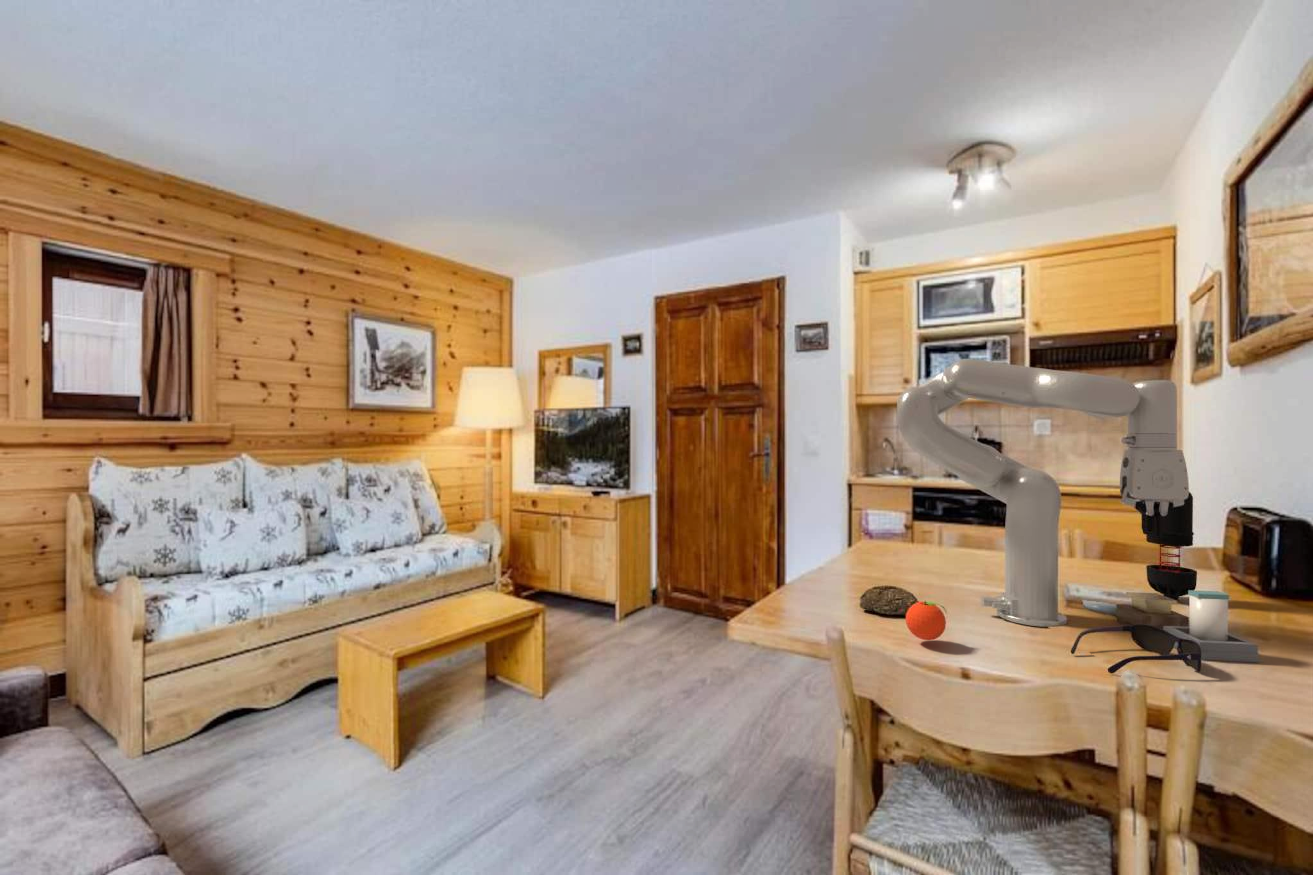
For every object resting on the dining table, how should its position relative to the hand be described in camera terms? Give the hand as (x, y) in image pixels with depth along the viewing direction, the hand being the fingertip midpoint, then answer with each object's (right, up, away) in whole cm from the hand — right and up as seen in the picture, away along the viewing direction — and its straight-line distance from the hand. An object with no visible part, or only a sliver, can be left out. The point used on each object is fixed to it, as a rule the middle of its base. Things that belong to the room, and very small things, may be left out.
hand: (1152, 534), depth 118 cm
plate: (+1, -19, +13) cm, 23 cm away
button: (0, -16, 0) cm, 16 cm away
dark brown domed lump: (-47, -19, +15) cm, 53 cm away
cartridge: (-1, -17, -13) cm, 21 cm away
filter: (+21, -19, +20) cm, 35 cm away
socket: (-1, -19, -13) cm, 23 cm away
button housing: (0, -19, 0) cm, 19 cm away
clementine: (-48, -19, -6) cm, 52 cm away
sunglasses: (-18, -19, -17) cm, 31 cm away
